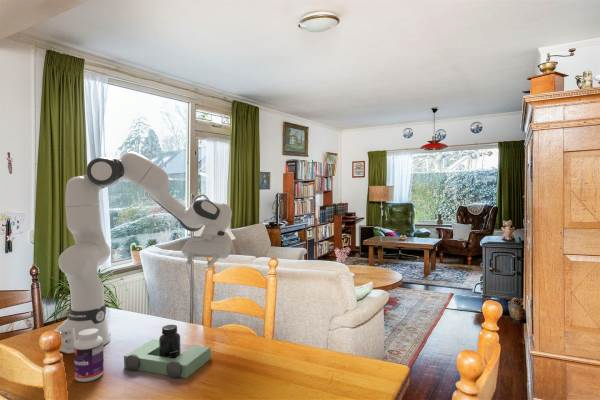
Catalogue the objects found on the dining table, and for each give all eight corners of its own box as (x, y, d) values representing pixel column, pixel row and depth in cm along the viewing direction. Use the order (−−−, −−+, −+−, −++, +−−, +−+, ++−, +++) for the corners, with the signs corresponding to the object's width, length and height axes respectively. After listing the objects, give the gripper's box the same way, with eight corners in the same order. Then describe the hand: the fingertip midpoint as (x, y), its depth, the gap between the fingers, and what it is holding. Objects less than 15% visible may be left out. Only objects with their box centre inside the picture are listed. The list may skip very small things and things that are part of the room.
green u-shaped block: (121, 369, 124) (121, 354, 124) (153, 350, 138) (152, 336, 138) (184, 380, 116) (183, 363, 116) (210, 358, 131) (210, 344, 131)
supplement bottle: (174, 367, 125) (172, 331, 124) (155, 365, 126) (154, 330, 126) (184, 358, 131) (183, 323, 131) (166, 356, 133) (165, 322, 132)
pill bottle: (68, 380, 117) (66, 334, 117) (91, 369, 125) (90, 325, 124) (87, 385, 114) (85, 338, 114) (109, 373, 122) (108, 328, 121)
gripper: (187, 231, 158) (172, 259, 150) (230, 232, 152) (218, 261, 143) (193, 240, 163) (180, 268, 154) (236, 242, 156) (224, 271, 147)
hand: (198, 265), depth 148 cm, fingers open, 8 cm apart
